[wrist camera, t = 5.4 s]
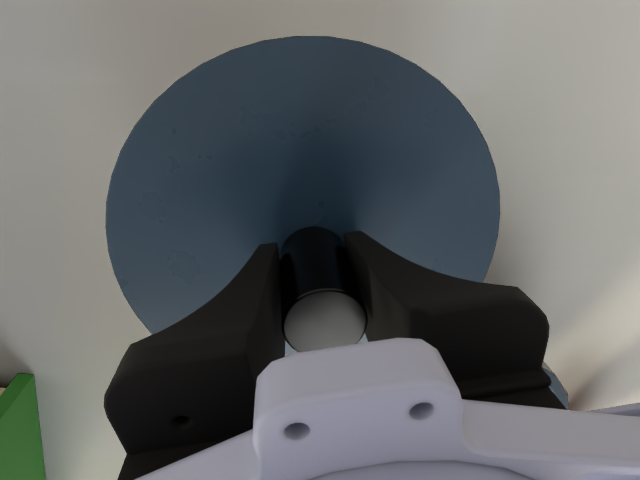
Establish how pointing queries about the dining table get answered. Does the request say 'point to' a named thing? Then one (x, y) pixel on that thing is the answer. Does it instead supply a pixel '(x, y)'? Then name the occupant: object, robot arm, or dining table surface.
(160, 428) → the robot arm
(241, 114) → the pot lid
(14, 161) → the dining table surface
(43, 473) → the hardback book
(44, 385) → the dining table surface
